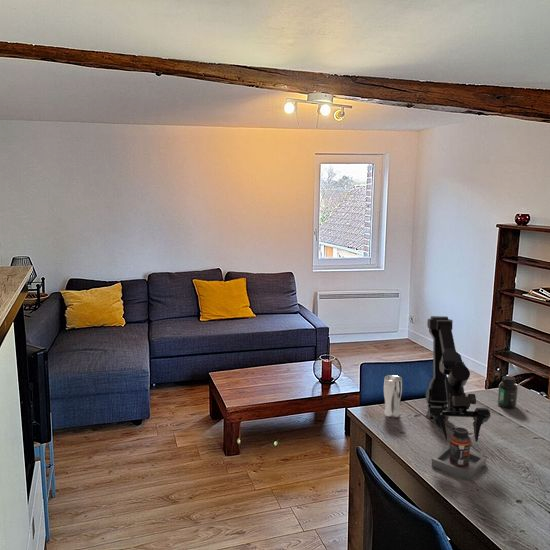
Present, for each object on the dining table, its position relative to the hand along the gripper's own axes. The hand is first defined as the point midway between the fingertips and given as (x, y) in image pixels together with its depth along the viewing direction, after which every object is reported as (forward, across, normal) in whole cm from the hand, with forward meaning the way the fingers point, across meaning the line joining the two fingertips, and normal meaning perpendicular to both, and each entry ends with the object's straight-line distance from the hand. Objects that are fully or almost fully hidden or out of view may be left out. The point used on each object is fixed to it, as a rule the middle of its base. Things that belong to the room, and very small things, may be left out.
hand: (461, 440), depth 159 cm
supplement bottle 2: (-28, +30, +42) cm, 59 cm away
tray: (+6, 0, +8) cm, 9 cm away
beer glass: (-19, -17, +33) cm, 42 cm away
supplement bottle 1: (+5, 0, +7) cm, 9 cm away
